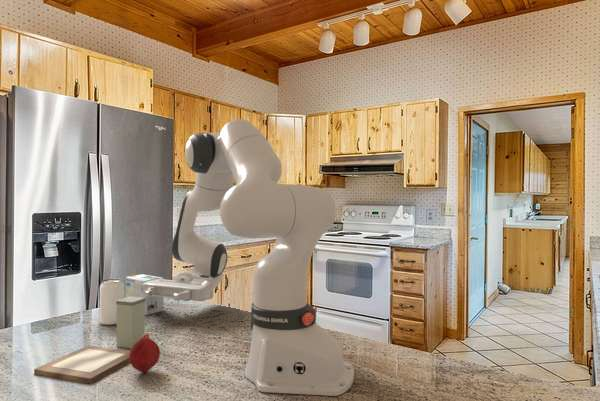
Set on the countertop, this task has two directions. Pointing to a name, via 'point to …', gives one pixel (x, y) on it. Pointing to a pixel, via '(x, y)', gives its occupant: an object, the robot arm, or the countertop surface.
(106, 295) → the can
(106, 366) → the board
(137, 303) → the tea tin
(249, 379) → the robot arm
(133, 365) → the onion
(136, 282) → the light bulb box
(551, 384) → the countertop surface
